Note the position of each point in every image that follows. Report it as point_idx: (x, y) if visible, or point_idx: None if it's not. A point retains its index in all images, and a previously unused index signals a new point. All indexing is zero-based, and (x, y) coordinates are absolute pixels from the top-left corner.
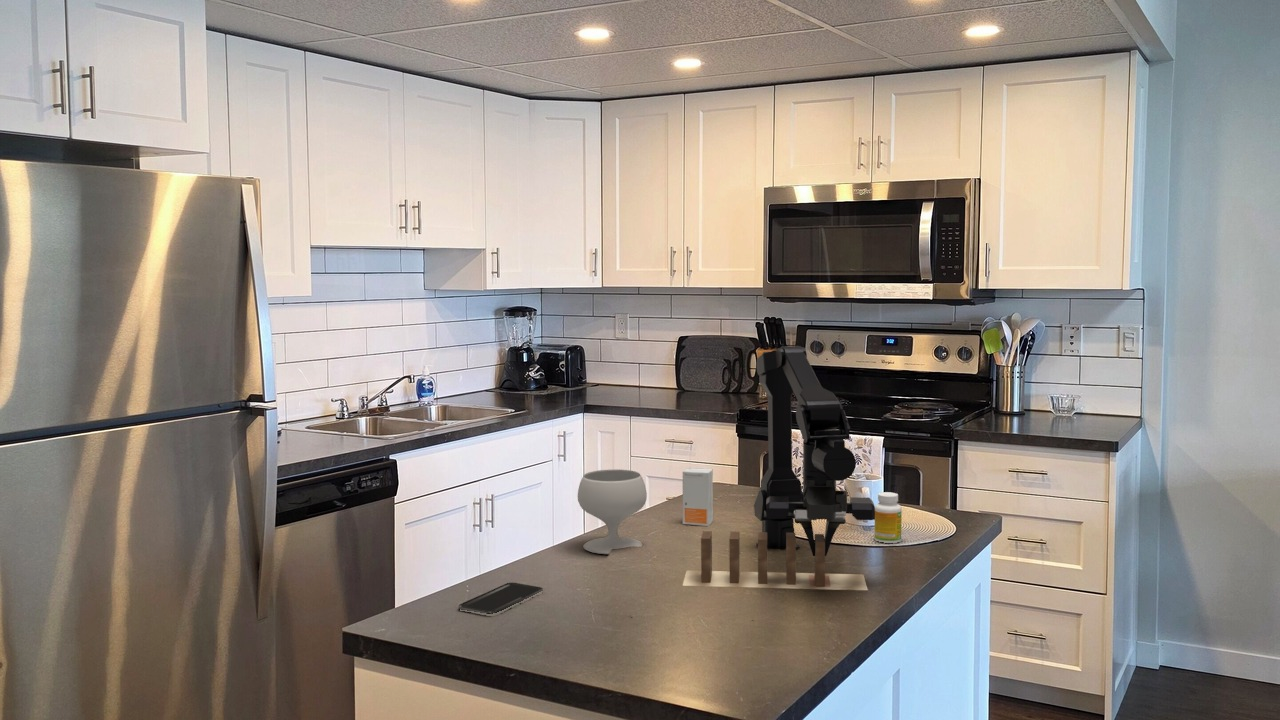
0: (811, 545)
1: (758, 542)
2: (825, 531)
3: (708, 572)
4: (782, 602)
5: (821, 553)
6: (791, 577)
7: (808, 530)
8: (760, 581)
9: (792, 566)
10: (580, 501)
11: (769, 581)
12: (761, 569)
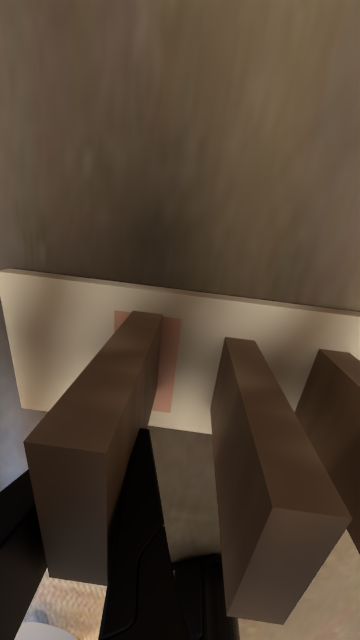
0: (146, 475)
1: None
2: (24, 603)
3: None
4: (298, 207)
5: (98, 379)
6: (244, 350)
7: (145, 635)
8: (346, 356)
9: (249, 374)
10: None
11: (302, 371)
12: None
